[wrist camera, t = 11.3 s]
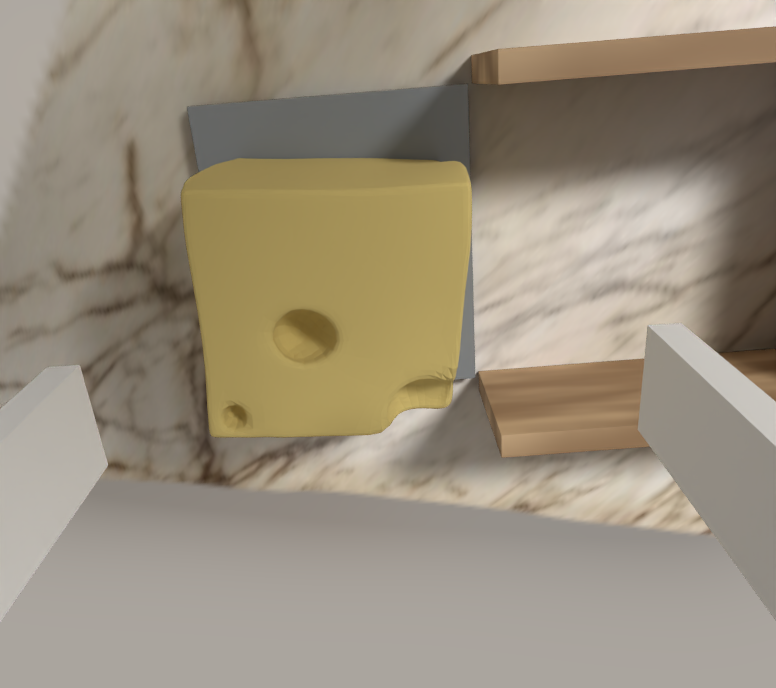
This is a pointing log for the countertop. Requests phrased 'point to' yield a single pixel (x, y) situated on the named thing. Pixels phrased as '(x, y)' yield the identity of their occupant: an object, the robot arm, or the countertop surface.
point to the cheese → (327, 290)
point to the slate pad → (346, 141)
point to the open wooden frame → (612, 378)
